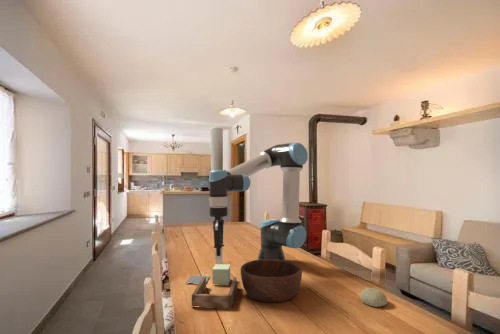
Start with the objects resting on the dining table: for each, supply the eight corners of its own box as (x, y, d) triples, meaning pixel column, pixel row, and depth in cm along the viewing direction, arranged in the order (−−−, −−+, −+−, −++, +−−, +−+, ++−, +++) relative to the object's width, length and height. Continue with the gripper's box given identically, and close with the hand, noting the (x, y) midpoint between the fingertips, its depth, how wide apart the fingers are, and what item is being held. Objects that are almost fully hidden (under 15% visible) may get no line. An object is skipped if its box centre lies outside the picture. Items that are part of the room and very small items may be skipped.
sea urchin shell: (376, 306, 101) (363, 284, 106) (364, 315, 106) (352, 293, 111) (395, 301, 104) (381, 280, 110) (382, 310, 109) (370, 290, 115)
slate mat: (209, 277, 136) (209, 276, 136) (205, 284, 127) (205, 283, 127) (190, 277, 136) (190, 275, 136) (185, 284, 127) (185, 283, 127)
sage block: (230, 279, 132) (230, 264, 133) (228, 285, 125) (228, 269, 126) (215, 279, 133) (215, 264, 133) (212, 285, 126) (212, 269, 126)
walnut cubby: (236, 287, 123) (236, 277, 123) (231, 308, 103) (231, 295, 103) (203, 287, 123) (203, 276, 123) (191, 307, 104) (191, 295, 104)
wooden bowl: (242, 281, 130) (242, 258, 131) (297, 281, 130) (297, 258, 130) (238, 306, 105) (238, 277, 106) (307, 306, 105) (306, 278, 105)
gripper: (212, 205, 128) (213, 258, 128) (206, 208, 115) (207, 267, 115) (229, 204, 128) (229, 258, 127) (225, 208, 115) (225, 268, 114)
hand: (219, 262), depth 121 cm, fingers closed
